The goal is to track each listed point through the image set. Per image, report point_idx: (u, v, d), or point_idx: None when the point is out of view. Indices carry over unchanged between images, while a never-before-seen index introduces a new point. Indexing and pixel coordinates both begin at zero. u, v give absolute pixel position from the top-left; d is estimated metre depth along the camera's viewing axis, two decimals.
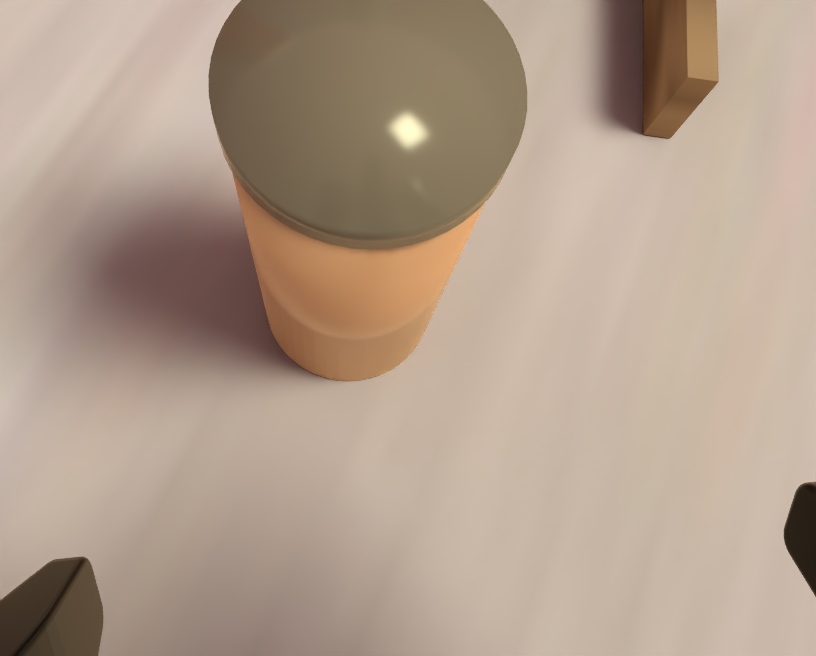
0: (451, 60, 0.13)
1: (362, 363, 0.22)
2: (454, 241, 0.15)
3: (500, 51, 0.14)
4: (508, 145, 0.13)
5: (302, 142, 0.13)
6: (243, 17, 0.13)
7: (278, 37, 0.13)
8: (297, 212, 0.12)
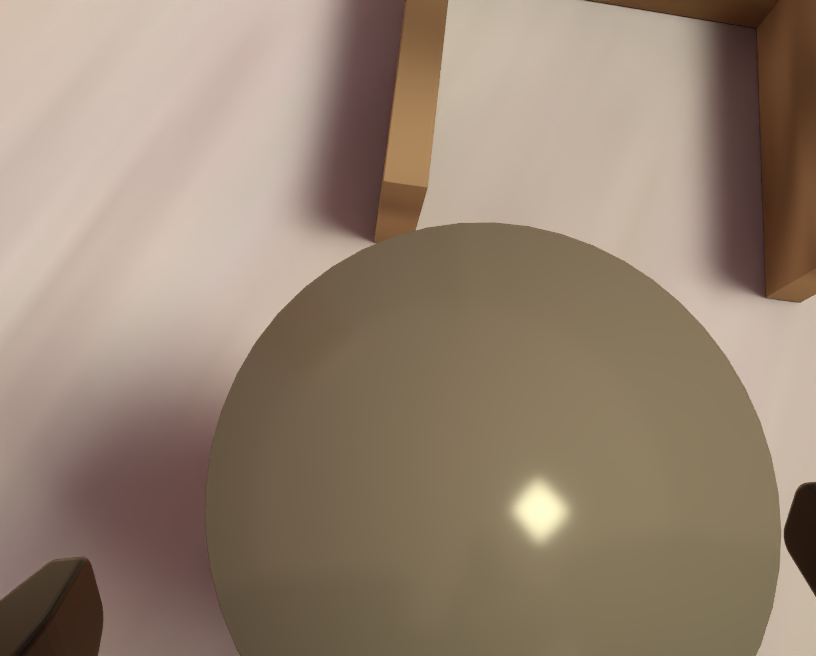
0: (643, 434, 0.07)
1: None
2: None
3: (725, 413, 0.08)
4: (754, 613, 0.07)
5: (378, 626, 0.07)
6: (271, 361, 0.07)
7: (334, 400, 0.07)
8: None
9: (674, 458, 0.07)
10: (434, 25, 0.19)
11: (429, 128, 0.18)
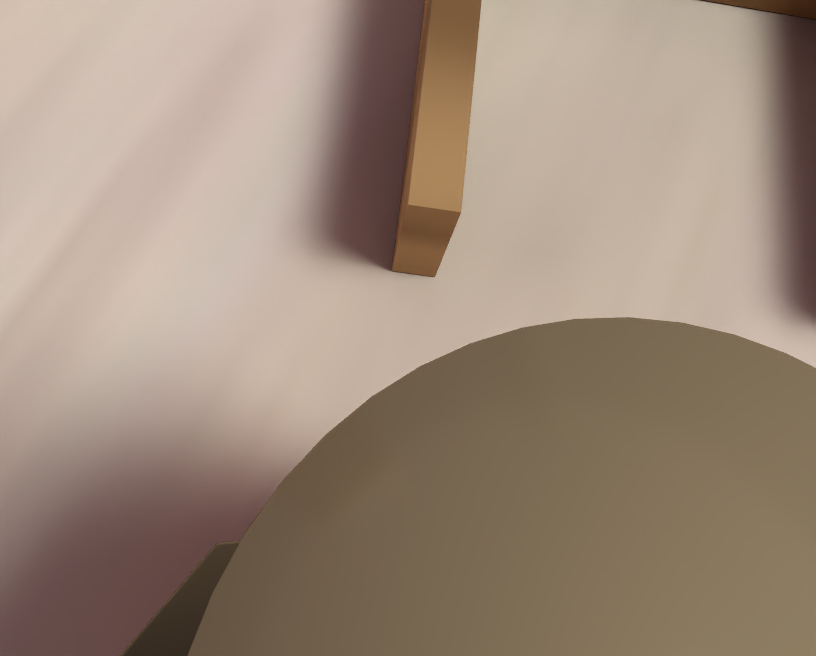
0: None
1: None
2: None
3: None
4: None
5: None
6: (271, 568, 0.04)
7: (378, 636, 0.04)
8: None
9: None
10: (467, 16, 0.16)
11: (462, 140, 0.15)
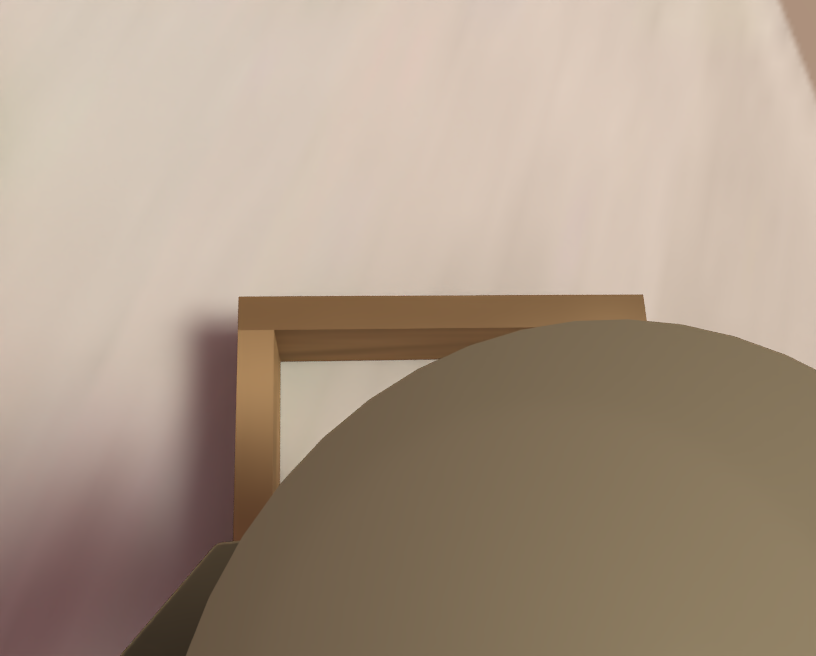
0: None
1: None
2: None
3: None
4: None
5: None
6: (269, 572, 0.04)
7: (376, 641, 0.04)
8: None
9: None
10: (262, 497, 0.20)
11: None
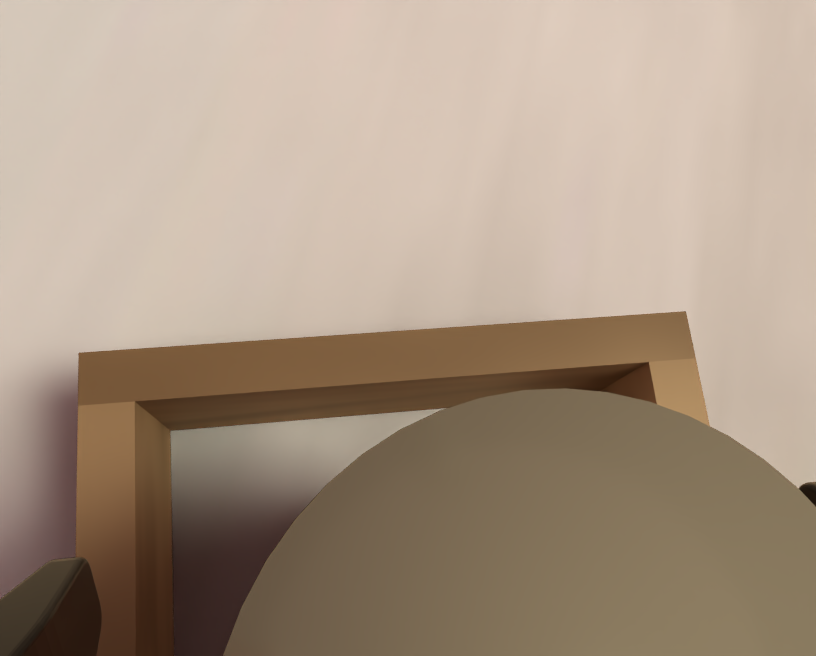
0: None
1: None
2: None
3: None
4: None
5: None
6: (286, 587, 0.06)
7: (367, 639, 0.06)
8: None
9: None
10: None
11: None
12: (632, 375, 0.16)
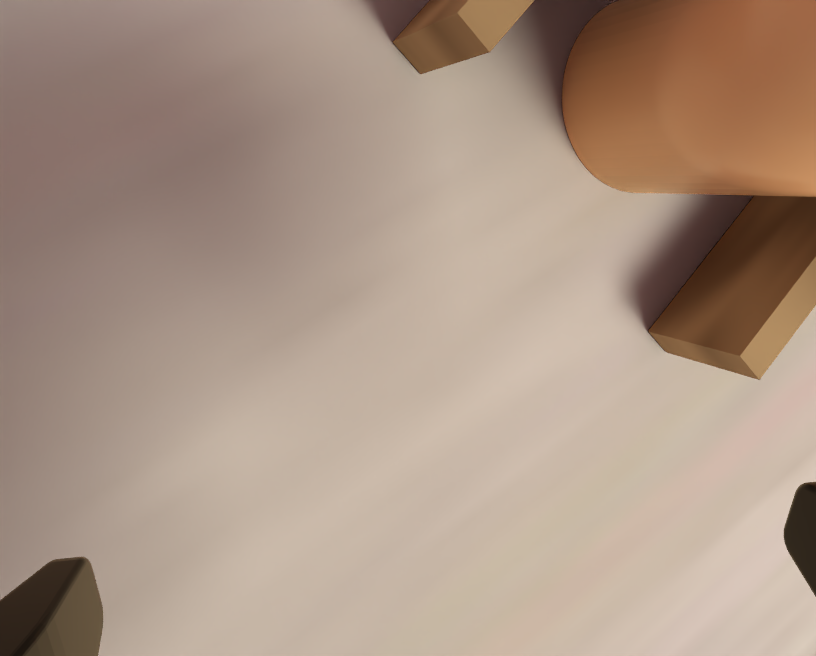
0: None
1: (641, 166, 0.19)
2: None
3: None
4: None
5: None
6: None
7: None
8: None
9: None
10: None
11: None
12: None
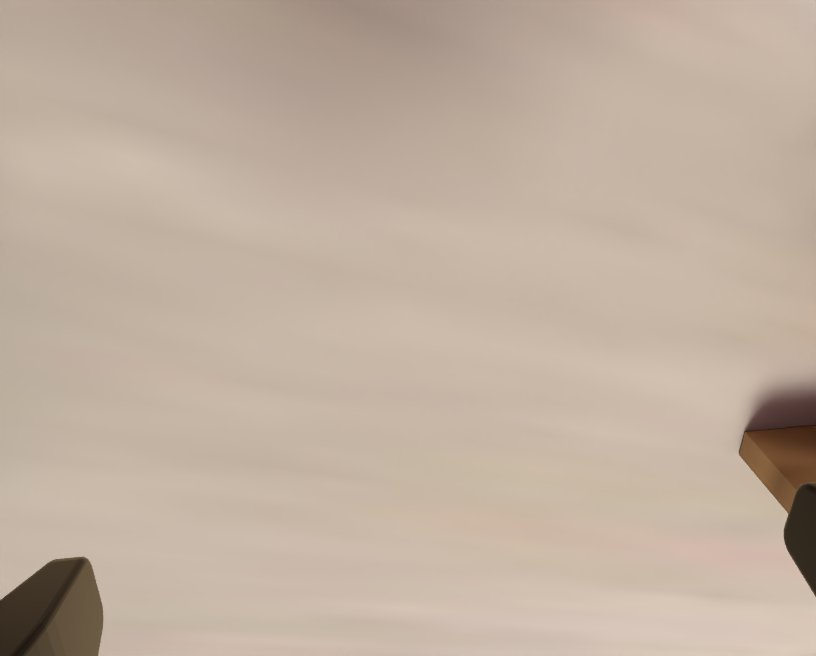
0: None
1: None
2: None
3: None
4: None
5: None
6: None
7: None
8: None
9: None
10: None
11: None
12: None
